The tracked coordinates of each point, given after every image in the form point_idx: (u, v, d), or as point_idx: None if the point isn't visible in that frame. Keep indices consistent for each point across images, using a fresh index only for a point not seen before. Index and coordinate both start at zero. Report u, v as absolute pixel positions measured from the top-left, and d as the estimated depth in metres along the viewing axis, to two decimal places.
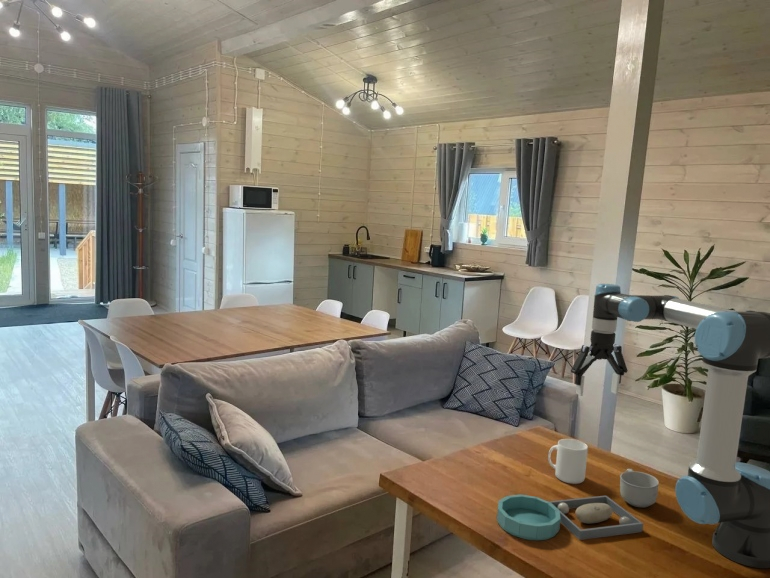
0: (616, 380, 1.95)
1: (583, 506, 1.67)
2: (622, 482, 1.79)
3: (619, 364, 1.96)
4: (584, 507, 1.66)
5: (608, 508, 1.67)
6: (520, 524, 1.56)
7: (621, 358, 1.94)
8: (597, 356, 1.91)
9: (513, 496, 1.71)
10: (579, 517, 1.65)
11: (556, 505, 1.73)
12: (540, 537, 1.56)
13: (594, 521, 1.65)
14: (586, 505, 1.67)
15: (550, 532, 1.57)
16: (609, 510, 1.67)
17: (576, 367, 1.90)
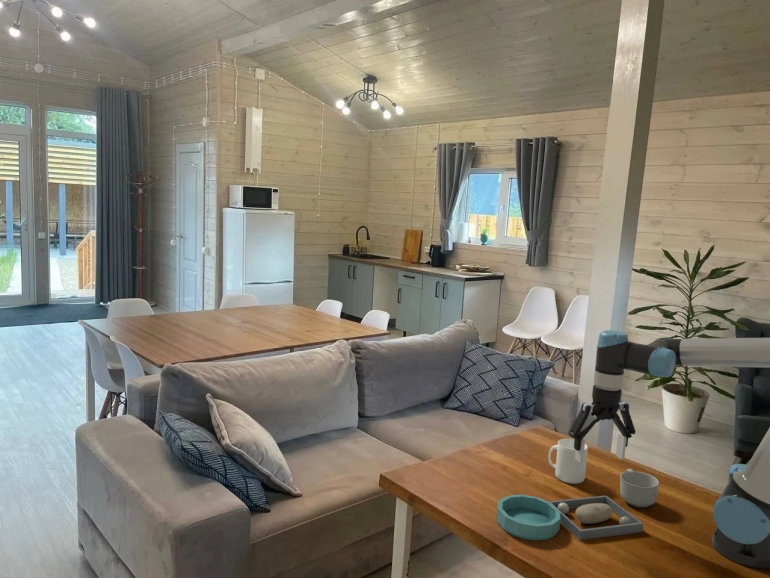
0: (622, 443, 1.66)
1: (583, 506, 1.67)
2: (622, 482, 1.79)
3: (626, 424, 1.67)
4: (584, 507, 1.66)
5: (608, 508, 1.67)
6: (520, 524, 1.56)
7: (628, 418, 1.65)
8: (600, 416, 1.62)
9: (513, 496, 1.71)
10: (579, 517, 1.65)
11: (556, 505, 1.73)
12: (540, 537, 1.56)
13: (594, 521, 1.65)
14: (586, 505, 1.67)
15: (550, 532, 1.57)
16: (609, 510, 1.67)
17: (575, 430, 1.61)
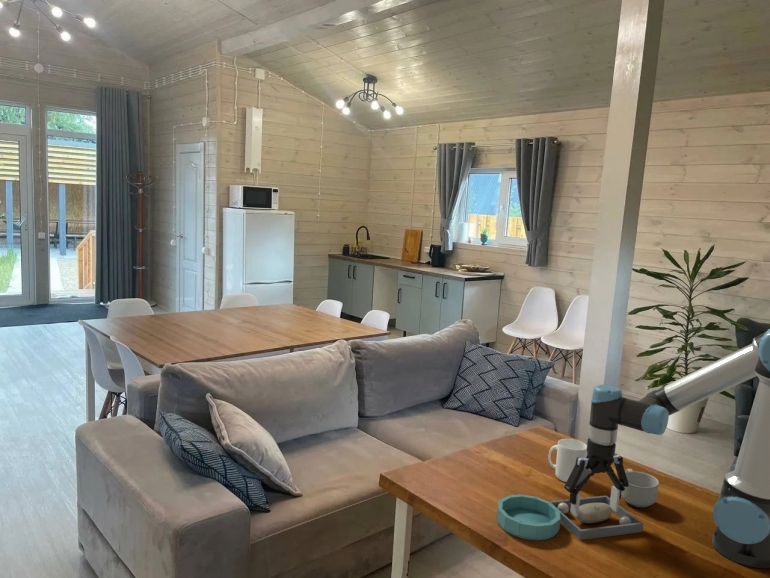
0: (616, 496, 1.68)
1: (583, 506, 1.67)
2: None
3: (620, 477, 1.69)
4: (584, 507, 1.66)
5: (608, 508, 1.67)
6: (520, 524, 1.56)
7: (622, 471, 1.67)
8: (594, 470, 1.64)
9: (513, 496, 1.71)
10: (579, 517, 1.65)
11: (556, 505, 1.73)
12: (540, 537, 1.56)
13: (594, 521, 1.65)
14: (585, 505, 1.67)
15: (550, 532, 1.57)
16: (609, 510, 1.67)
17: (570, 484, 1.63)
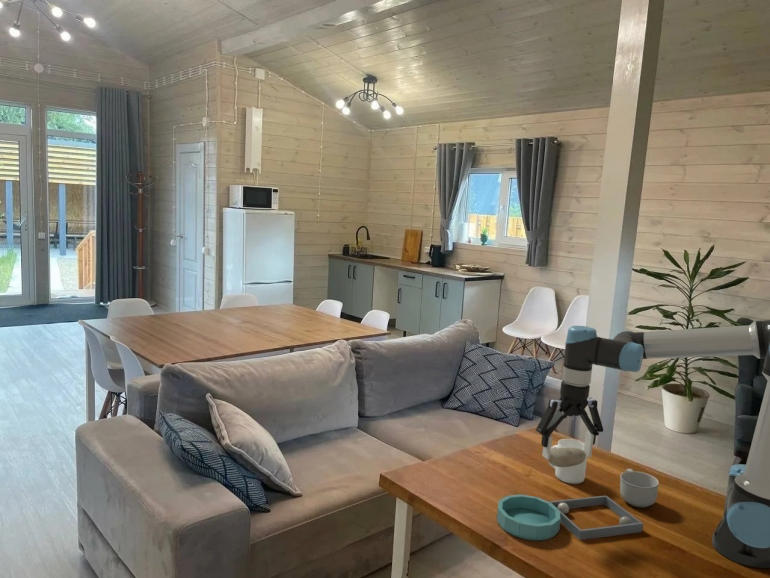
0: (589, 441, 1.64)
1: (555, 450, 1.63)
2: (622, 482, 1.79)
3: (594, 422, 1.65)
4: (557, 450, 1.63)
5: (581, 452, 1.64)
6: (520, 524, 1.56)
7: (596, 415, 1.63)
8: (567, 413, 1.60)
9: (513, 496, 1.71)
10: (550, 460, 1.61)
11: (556, 505, 1.73)
12: (540, 537, 1.56)
13: (566, 464, 1.61)
14: (558, 449, 1.64)
15: (550, 532, 1.57)
16: (582, 454, 1.63)
17: (542, 426, 1.60)
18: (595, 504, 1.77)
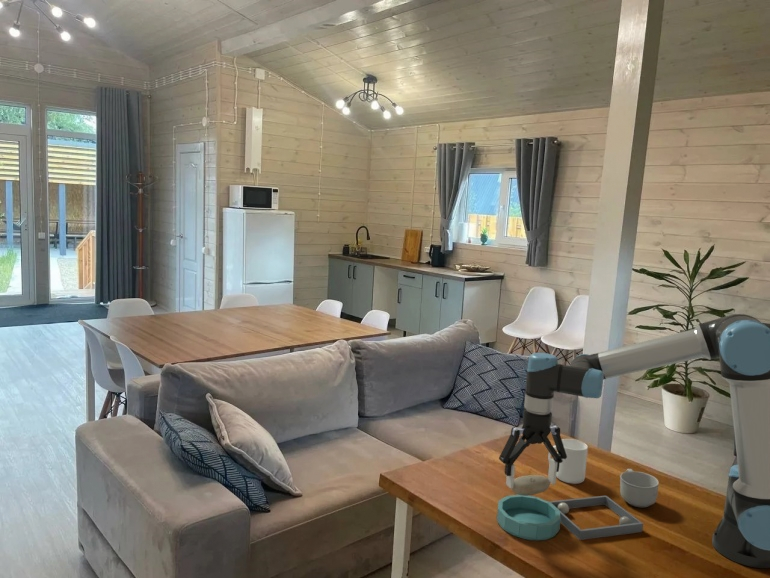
0: (553, 468, 1.63)
1: (519, 478, 1.62)
2: (622, 482, 1.79)
3: (558, 449, 1.64)
4: (520, 479, 1.61)
5: (545, 480, 1.62)
6: (520, 524, 1.56)
7: (559, 442, 1.62)
8: (530, 441, 1.59)
9: (513, 496, 1.71)
10: (514, 489, 1.60)
11: (556, 505, 1.73)
12: (540, 537, 1.56)
13: (529, 493, 1.60)
14: (522, 477, 1.62)
15: (550, 532, 1.57)
16: (546, 482, 1.62)
17: (505, 455, 1.58)
18: (595, 504, 1.77)
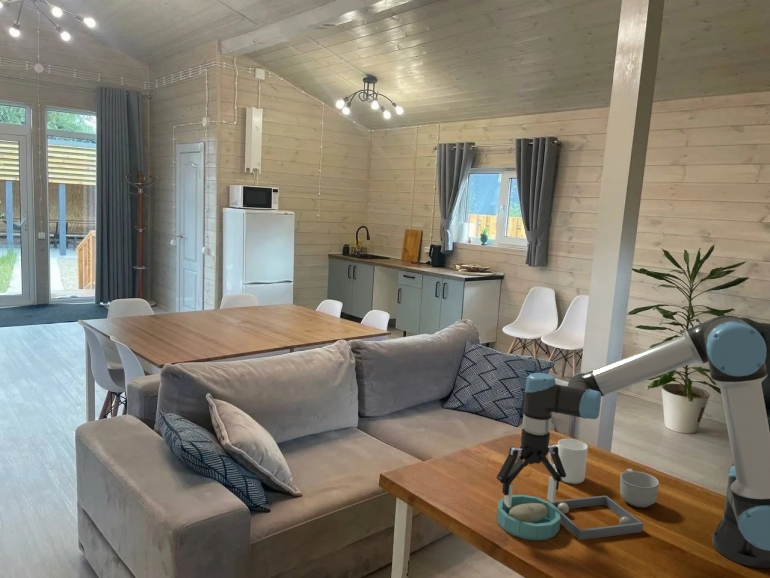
0: (552, 486, 1.64)
1: (517, 506, 1.63)
2: (622, 482, 1.79)
3: (557, 467, 1.65)
4: (518, 507, 1.62)
5: (543, 508, 1.64)
6: (520, 524, 1.56)
7: (558, 461, 1.63)
8: (528, 461, 1.59)
9: (513, 496, 1.71)
10: None
11: (556, 505, 1.73)
12: (540, 537, 1.56)
13: None
14: (520, 505, 1.63)
15: (550, 532, 1.57)
16: (544, 510, 1.63)
17: (502, 474, 1.59)
18: (595, 504, 1.77)
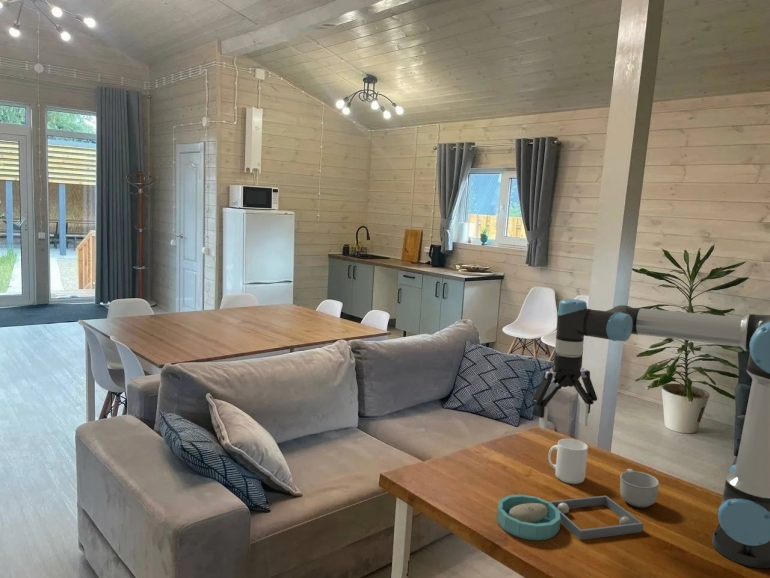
0: (584, 410, 1.70)
1: (517, 506, 1.63)
2: (622, 482, 1.79)
3: (588, 391, 1.70)
4: (518, 507, 1.62)
5: (543, 508, 1.64)
6: (520, 524, 1.56)
7: (590, 384, 1.69)
8: (562, 383, 1.65)
9: (513, 496, 1.71)
10: None
11: (556, 505, 1.73)
12: (540, 537, 1.56)
13: None
14: (520, 505, 1.63)
15: (550, 532, 1.57)
16: (544, 510, 1.63)
17: (538, 397, 1.64)
18: (595, 504, 1.77)
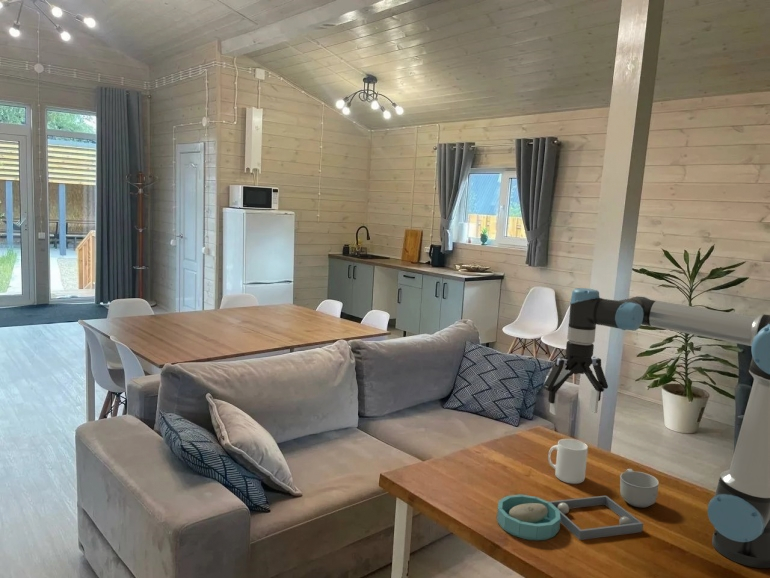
0: (595, 397, 1.73)
1: (517, 506, 1.63)
2: (622, 482, 1.79)
3: (599, 379, 1.74)
4: (518, 507, 1.62)
5: (543, 508, 1.64)
6: (520, 524, 1.56)
7: (600, 372, 1.72)
8: (573, 370, 1.69)
9: (513, 496, 1.71)
10: None
11: (556, 505, 1.73)
12: (540, 537, 1.56)
13: None
14: (520, 505, 1.63)
15: (550, 532, 1.57)
16: (544, 510, 1.63)
17: (549, 383, 1.68)
18: (595, 504, 1.77)
